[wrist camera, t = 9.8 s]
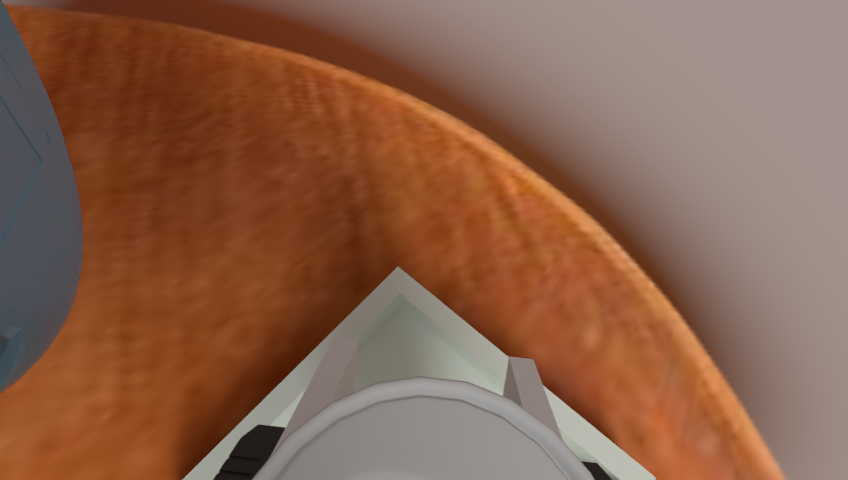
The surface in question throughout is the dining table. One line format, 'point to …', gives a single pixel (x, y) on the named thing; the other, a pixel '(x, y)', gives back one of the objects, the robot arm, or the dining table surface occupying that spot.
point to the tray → (417, 371)
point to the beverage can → (423, 438)
